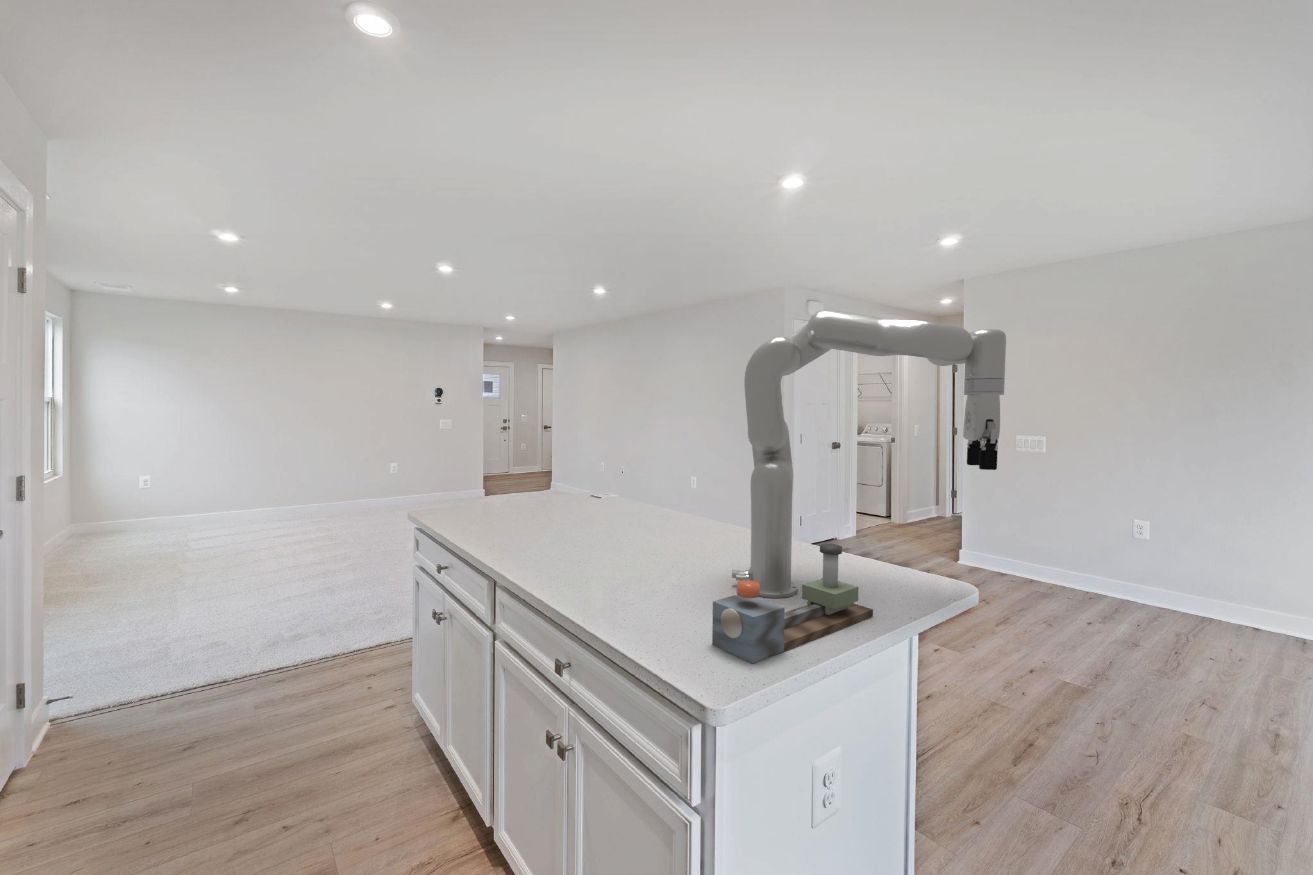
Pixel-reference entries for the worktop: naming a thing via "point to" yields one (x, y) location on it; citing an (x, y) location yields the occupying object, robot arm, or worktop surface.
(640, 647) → the worktop surface
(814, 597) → the block
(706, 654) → the worktop surface
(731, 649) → the rail stand
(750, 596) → the button
